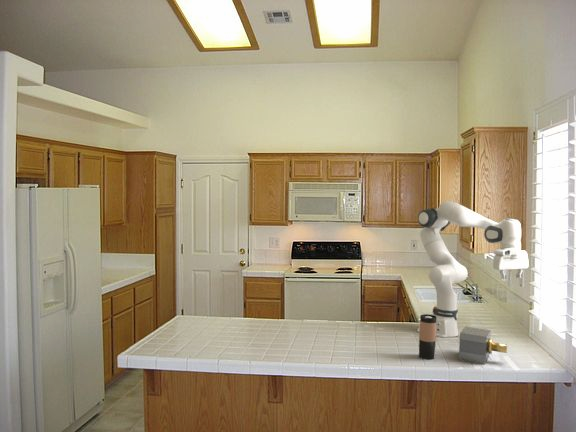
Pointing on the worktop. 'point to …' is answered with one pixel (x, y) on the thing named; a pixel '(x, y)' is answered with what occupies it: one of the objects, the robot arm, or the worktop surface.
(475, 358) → the housing
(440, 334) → the robot arm
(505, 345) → the brass collar peg
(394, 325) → the worktop surface
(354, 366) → the worktop surface
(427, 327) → the travel mug
